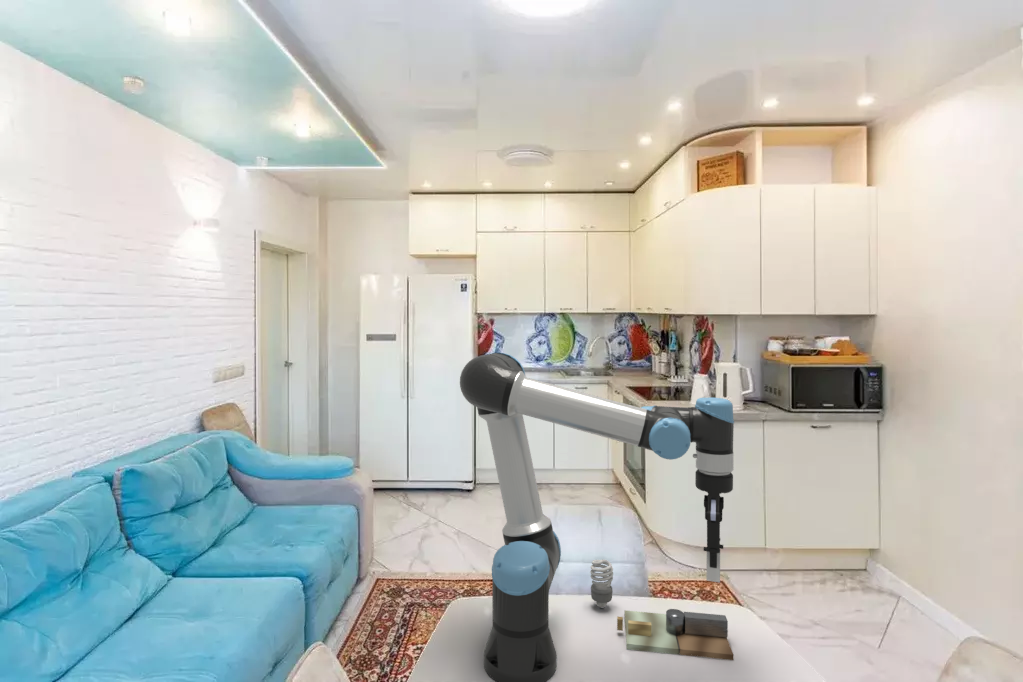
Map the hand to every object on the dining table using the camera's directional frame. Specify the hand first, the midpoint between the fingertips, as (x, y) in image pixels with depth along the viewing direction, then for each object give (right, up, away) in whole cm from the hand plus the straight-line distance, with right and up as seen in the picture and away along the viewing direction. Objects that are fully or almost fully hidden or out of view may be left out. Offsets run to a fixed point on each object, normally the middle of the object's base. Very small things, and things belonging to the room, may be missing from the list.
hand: (713, 579), depth 115 cm
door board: (-6, -16, +6) cm, 18 cm away
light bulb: (-21, -16, +19) cm, 32 cm away
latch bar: (-2, -14, +6) cm, 15 cm away
